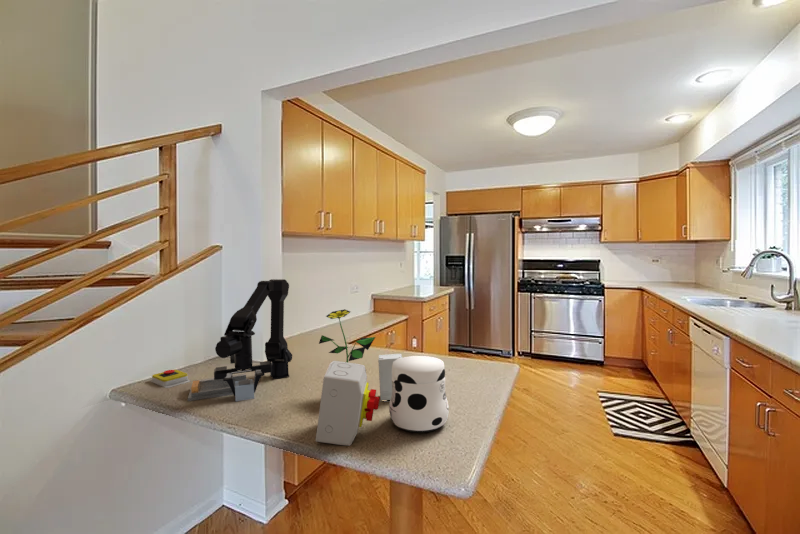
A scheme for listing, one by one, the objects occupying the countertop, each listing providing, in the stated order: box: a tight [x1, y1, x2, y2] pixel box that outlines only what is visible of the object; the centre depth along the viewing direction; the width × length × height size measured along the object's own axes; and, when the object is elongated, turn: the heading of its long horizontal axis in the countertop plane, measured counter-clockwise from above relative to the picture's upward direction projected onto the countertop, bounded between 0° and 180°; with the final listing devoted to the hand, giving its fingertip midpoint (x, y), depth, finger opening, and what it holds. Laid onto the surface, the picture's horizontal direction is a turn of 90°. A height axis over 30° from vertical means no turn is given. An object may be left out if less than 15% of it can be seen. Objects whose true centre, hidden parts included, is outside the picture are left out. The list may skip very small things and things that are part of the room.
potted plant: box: [318, 309, 376, 371], centre depth 129 cm, size 18×19×30 cm
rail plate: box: [187, 373, 250, 402], centre depth 141 cm, size 20×13×4 cm, turn 114°
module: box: [234, 378, 255, 402], centre depth 134 cm, size 6×6×5 cm
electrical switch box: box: [315, 360, 381, 446], centre depth 106 cm, size 15×15×20 cm
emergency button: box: [150, 369, 191, 389], centre depth 152 cm, size 9×4×15 cm
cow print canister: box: [388, 355, 450, 433], centre depth 111 cm, size 17×17×18 cm
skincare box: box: [377, 353, 403, 401], centre depth 130 cm, size 8×6×15 cm
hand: (244, 394), depth 134 cm, fingers closed on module, 6 cm apart
